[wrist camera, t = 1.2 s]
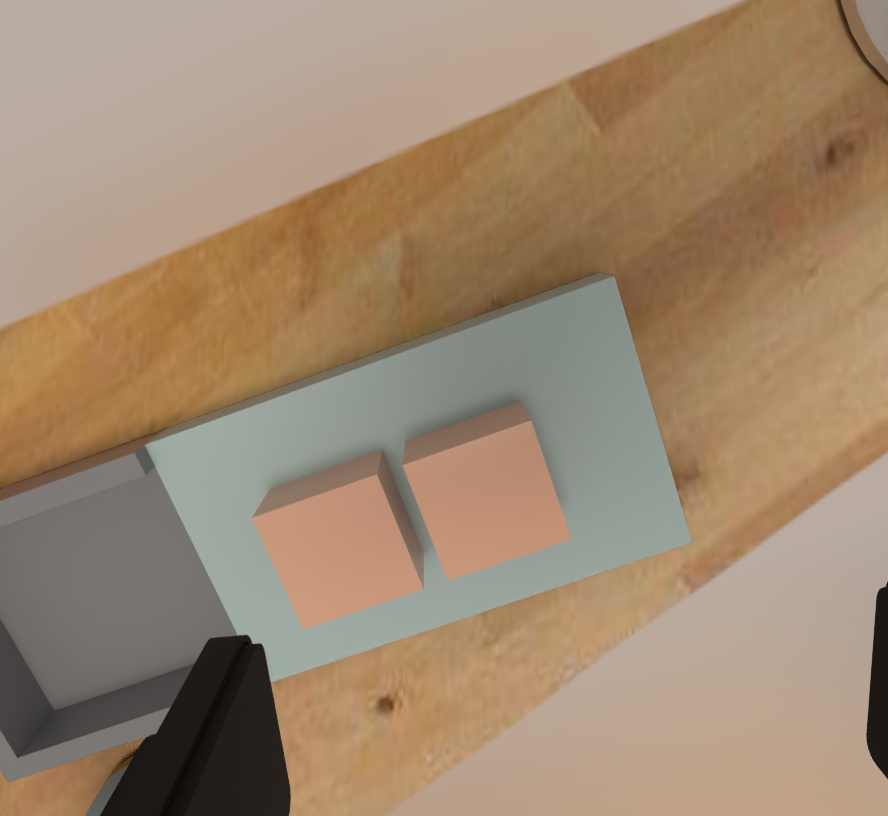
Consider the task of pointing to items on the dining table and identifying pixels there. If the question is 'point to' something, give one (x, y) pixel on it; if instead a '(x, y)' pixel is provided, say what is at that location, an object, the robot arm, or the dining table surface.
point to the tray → (95, 609)
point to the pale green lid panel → (418, 413)
